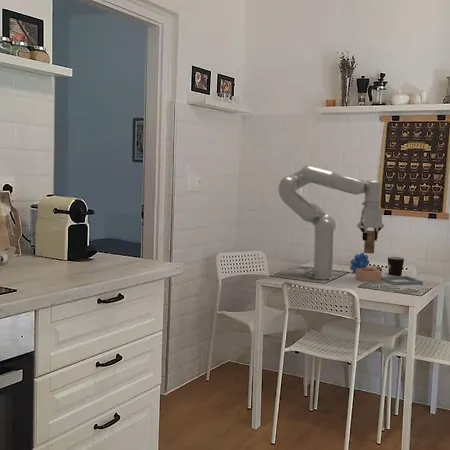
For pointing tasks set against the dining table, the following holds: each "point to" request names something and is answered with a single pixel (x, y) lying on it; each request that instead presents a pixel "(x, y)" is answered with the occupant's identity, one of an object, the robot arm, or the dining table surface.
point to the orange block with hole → (368, 274)
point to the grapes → (359, 262)
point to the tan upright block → (369, 242)
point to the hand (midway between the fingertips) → (369, 240)
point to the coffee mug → (395, 265)
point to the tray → (410, 281)
